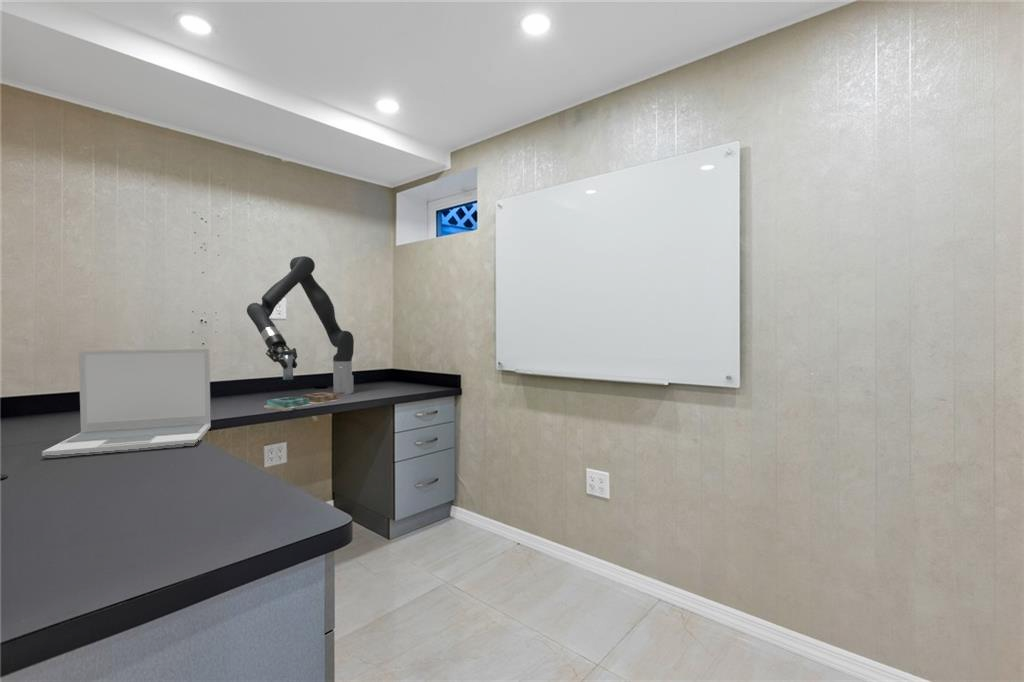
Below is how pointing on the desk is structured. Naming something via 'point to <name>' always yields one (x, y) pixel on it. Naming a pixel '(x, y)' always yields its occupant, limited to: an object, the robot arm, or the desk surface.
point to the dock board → (300, 401)
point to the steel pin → (289, 360)
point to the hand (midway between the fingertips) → (290, 367)
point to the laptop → (140, 400)
